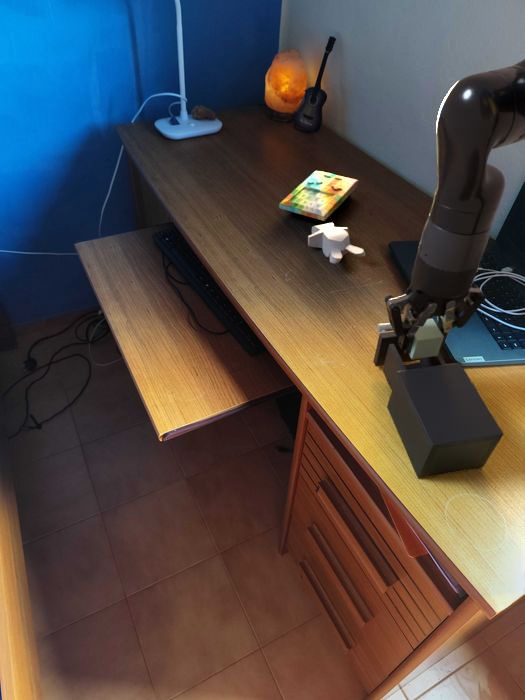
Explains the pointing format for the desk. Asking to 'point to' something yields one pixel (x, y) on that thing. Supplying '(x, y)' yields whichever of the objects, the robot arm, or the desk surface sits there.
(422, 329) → the block
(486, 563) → the desk surface
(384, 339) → the drawer
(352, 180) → the puzzle game
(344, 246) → the bunny figurine
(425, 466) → the dark box
